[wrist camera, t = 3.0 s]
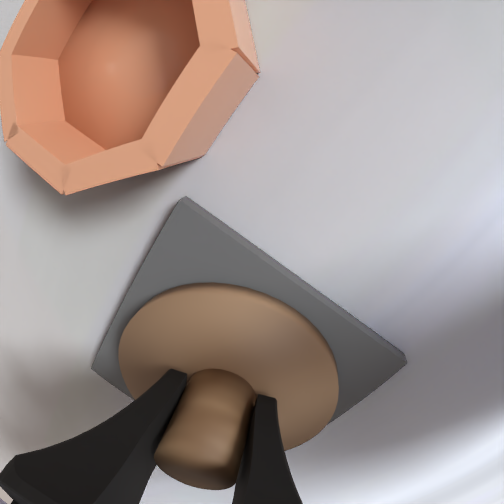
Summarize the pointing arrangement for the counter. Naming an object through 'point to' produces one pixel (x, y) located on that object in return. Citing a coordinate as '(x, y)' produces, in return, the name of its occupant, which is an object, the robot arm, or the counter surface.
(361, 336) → the mat
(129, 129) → the bowl
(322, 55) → the counter surface
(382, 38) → the counter surface
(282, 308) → the lid
